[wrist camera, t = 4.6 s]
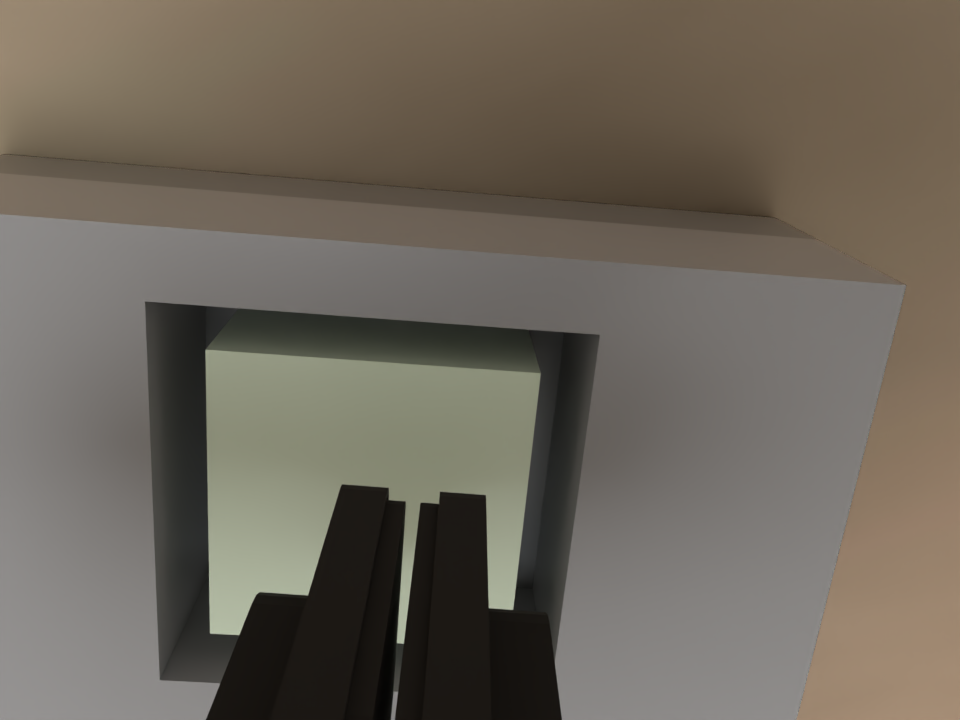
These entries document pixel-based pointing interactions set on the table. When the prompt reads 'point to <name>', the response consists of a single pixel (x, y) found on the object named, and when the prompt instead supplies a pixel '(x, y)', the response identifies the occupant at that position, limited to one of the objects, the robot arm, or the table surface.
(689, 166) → the table surface
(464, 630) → the robot arm
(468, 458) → the sage key
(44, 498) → the key console
